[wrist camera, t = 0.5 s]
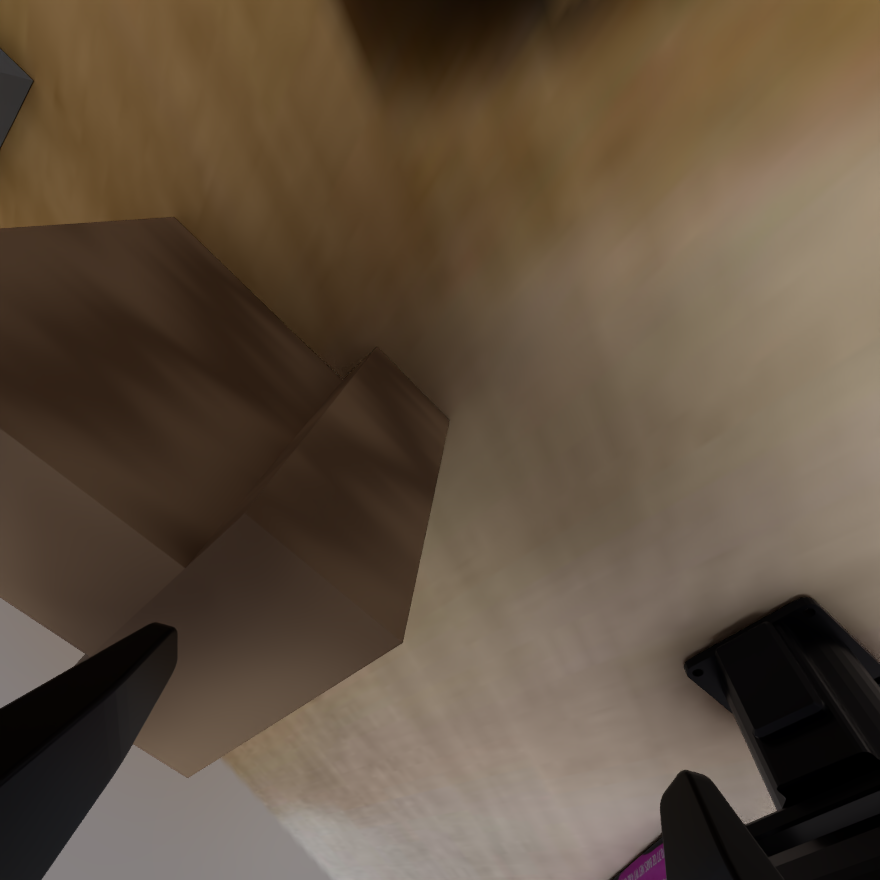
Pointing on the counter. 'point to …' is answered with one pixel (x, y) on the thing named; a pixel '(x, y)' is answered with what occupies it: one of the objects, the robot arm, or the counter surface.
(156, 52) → the counter surface
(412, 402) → the brown stepped block
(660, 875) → the candy bar box
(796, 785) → the robot arm
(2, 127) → the stop
